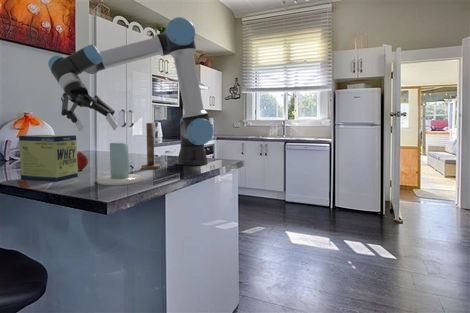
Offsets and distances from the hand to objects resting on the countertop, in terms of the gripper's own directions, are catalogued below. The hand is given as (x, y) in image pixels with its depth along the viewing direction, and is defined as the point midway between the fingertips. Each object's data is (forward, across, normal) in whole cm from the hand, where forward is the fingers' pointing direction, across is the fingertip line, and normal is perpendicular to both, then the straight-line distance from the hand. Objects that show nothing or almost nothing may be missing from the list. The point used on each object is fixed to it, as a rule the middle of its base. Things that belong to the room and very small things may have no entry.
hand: (99, 128), depth 114 cm
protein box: (+3, +11, -23) cm, 26 cm away
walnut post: (+10, -27, -16) cm, 33 cm away
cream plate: (+20, 0, -6) cm, 21 cm away
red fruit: (-3, -6, -29) cm, 30 cm away
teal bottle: (+19, 0, -5) cm, 20 cm away
